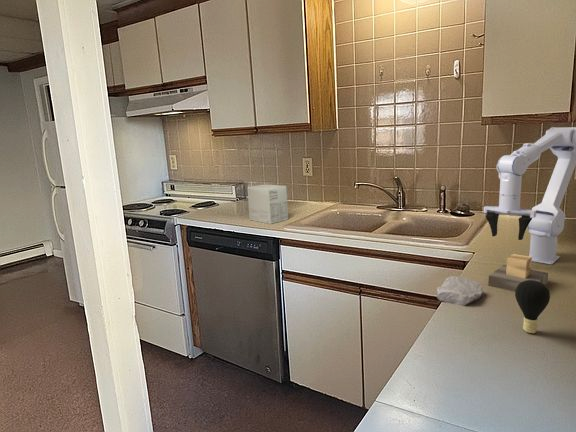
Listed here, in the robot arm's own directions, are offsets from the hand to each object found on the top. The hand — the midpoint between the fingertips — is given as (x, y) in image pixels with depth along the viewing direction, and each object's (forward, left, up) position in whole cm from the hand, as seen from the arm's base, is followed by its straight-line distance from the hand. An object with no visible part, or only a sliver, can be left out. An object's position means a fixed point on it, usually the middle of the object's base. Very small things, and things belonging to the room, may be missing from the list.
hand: (507, 237), depth 131 cm
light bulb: (+39, +18, -11) cm, 44 cm away
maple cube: (+11, +7, -7) cm, 15 cm away
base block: (+11, +7, -10) cm, 17 cm away
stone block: (+29, -2, -11) cm, 31 cm away
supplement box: (-7, -120, -11) cm, 121 cm away
